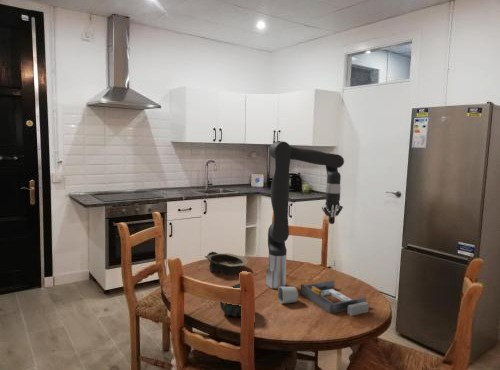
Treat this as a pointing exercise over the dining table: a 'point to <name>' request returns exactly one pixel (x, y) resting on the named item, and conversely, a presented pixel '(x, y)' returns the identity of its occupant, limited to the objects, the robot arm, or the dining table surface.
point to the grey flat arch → (335, 294)
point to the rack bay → (315, 295)
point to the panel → (357, 308)
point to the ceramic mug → (287, 294)
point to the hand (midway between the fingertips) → (331, 223)
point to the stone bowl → (225, 262)
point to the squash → (231, 306)
